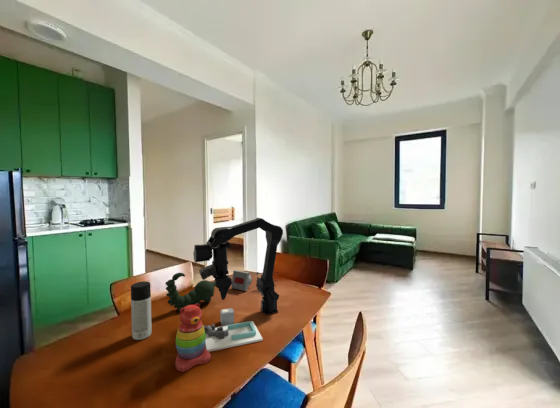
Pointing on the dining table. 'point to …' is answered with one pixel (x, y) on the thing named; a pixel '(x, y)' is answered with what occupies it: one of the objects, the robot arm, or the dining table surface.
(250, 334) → the end holder
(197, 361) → the stacking bear
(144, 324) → the spray can
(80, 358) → the dining table surface
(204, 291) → the toy figurine
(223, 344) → the board
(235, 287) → the voltmeter
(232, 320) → the block
